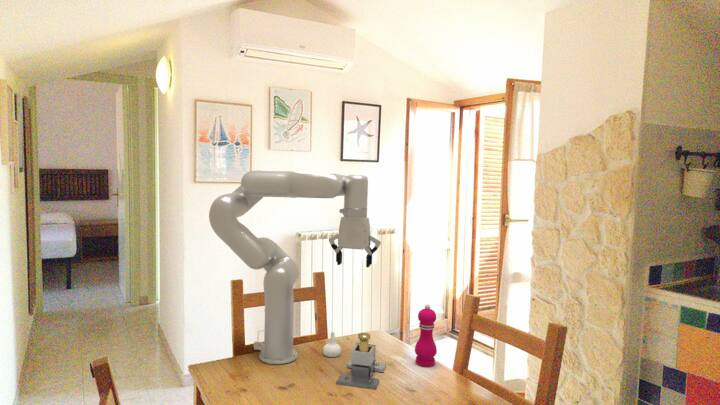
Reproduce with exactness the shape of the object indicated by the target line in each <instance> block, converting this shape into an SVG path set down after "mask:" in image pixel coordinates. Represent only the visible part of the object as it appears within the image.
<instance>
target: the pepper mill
mask: <svg viewBox="0 0 720 405" xmlns="http://www.w3.org/2000/svg"><path fill="white" fill-rule="evenodd" d="M417 319H418V321H419V323H418V324H419V325H418V328H419V330H420V333H419V334H420V335H419V338H418V339H417V342H416V344H415V347H414V352H415V353H414V354H415V355H416V356H415V364H416V365H417V366H419V367H424V368H428V367H429V368H430V367H433V366H434V365H436V364H435V363H436V362H435V361H436V359H435V356H436V355H437V345H436V342H435V341H434V337H433V332H434V329H435V322H436V321H437V313H436V312H435V310H433V309H432V308H431V305H430V304H428V303H427V304H425V305H424V308H421V310H419V312H418V314H417Z"/></svg>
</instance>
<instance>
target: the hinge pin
mask: <svg viewBox="0 0 720 405" xmlns="http://www.w3.org/2000/svg"><path fill="white" fill-rule="evenodd" d="M357 338H358V339H359V341H358V343H359V351H363V352H368V344H370V343H369V341H370V339H371V334H370V333H368V332H359V333H358V334H357ZM363 366H364V365H363Z"/></svg>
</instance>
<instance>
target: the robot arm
mask: <svg viewBox="0 0 720 405" xmlns="http://www.w3.org/2000/svg"><path fill="white" fill-rule="evenodd" d="M368 190H369V179H368V177H367V176H365V175H363V174H362V175H358V174H349V175H344V174H340V173H339V174H338V173H325V174H323V173H321V174H320V173H319V174H317V173H299V172H295V171H291V170H290V171H288V170H287V171H286V170H282V171H281V170H279V171H278V170H250V171H247V172H246V173H244V174H243V176H242V177H241V180H240V185H239V186H238V187H237V188H236V189H235V190H234V191H232V192H230V193H225V194H222V195H219V196H217V197H216V198H215V199H214V200H213V202H212V203H211V205H210V208H209V210H208V211H209V212H208V219H209V224H210V226H211V229H212V230H213V232H214V234H215V235H217V237H218V238H220V240H221V241H223V243H224V244H225V245H226V246H228V247H229V249H230V251H232V252H234V254H235V255H236V256H237V257H239V259H240V260H241V261H242V262H243V263H244V264H245V265H246V266H247V267H248V268H250V269H252V270H262V269H263V270H264V271H265V272H266V273H265V274H264V277H263V292H264V295H263V296H264V332H263V333H264V334H263V335H264V338H263V342H262V341H261V342H260V341H254V343H253V350H254V351H260V353H259V355H258V356H259V360H260V361H261V362H263V363H265V364H269V365H284V364H290V363H292V362H294V361H296V359H297V358H298V352H297V350H296V349H294V319H295V318H294V316H295V315H294V310H295V309H294V308H295V305H294V304H295V301H294V300H295V299H294V298H295V297H294V285H295V283H296V282H297V281H298V279H299V277H300V269H299V267H298V265H297V263H296V262H295V261H294V259H292V257H290V255H289V254H287V252H285V251H284V250H283V248H282V247H280V245H278V243H277V242H275V241H274V240H272V239H270V238H268V237H262V236H261V237H257V236H256V235H255V234H254V233H252V231H251V230H250V229H249V228H248V227H246V226H245V225H244V224H243V223H241V222H240V221H239V219H238V218H239V217H240V218H241V217H242V216H244V215H245V214H246V213H248V212H249V211H250V210H251V209H252V208H253V207H254V206H255V205H257V204H258V203H259V202H260V201H261V200H262V199H263V198H268V197H269V198H292V199H294V198H305V199H334V198H336V197H340V196H344V197H343V200H344V201H343V207H342V208H340V209H339V213H340V214H342V215H343V216H341V218H340V221H339V226H338V234H335V235H334V236H332V237H330V238H329V239H328V241H329V244H330V247H331V249H332V250H334V253H336V254H335V262H336V263H337V266H340V265H341V264H343V251H342V250H343V249H350V250H351V249H352V250H365V252H366V253H367V255H366V258H365V259H366V260H365V262H366V264H365V266H366V268H370V267H371V265H372V263H373V254H374V253H375V252H376V251H378V249H379V247H380V246H381V243H382V242H381V240H379V239H377V238H375V237H374V236H372V235H371V226H370V224H371V223H370V218H369V217H368V198H369V197H368V192H369V191H368ZM336 240H337V244H336V242H335V241H336ZM371 242H372V243H373V244H374V246H373V247H372V248H371Z"/></svg>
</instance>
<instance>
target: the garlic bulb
mask: <svg viewBox="0 0 720 405" xmlns="http://www.w3.org/2000/svg"><path fill="white" fill-rule="evenodd" d="M335 335H336V334H335V332H334V331H331V332H330V339H329V342H328V343H327V344H325V345H324V346H323V347H322V354H323V355H324V356H325V357H328V358H337V357H339V356H340V355H341V353H342V348H341V345H339V344H338V343H337V342H336V336H335Z"/></svg>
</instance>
